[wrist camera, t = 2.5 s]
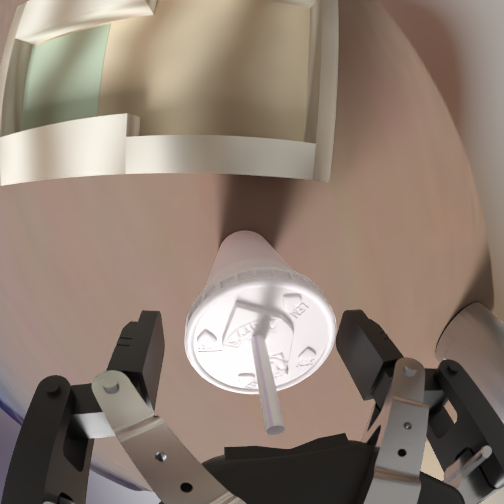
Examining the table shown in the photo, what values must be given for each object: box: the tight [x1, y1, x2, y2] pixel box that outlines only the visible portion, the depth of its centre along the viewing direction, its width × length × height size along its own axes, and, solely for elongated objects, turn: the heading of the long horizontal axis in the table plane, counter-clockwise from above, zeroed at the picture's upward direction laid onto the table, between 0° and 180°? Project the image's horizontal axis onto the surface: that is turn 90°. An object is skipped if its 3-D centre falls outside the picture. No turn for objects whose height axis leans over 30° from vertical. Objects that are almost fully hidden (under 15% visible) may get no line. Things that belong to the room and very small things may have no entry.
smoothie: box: [185, 230, 336, 435], centre depth 13 cm, size 6×6×14 cm
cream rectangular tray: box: [0, 0, 339, 186], centre depth 12 cm, size 22×14×4 cm, turn 86°
